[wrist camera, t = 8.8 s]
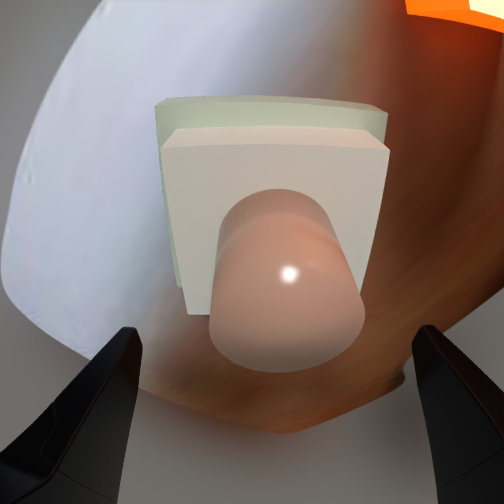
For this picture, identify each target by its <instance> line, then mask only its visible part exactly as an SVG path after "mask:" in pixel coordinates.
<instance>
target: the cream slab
mask: <svg viewBox="0 0 504 504" xmlns="http://www.w3.org/2000/svg"><path fill="white" fill-rule="evenodd" d="M160 150H161V158H162V166H163V174H164V181H165V188H166V195H167V202H168V208H169V215H170V221H171V227H172V233H173V239H174V245H175V250H176V256H177V261H178V267H179V272H180V277H181V282H182V287H183V292H184V297H185V302H186V307H187V312H188V314H194V315H210V308H211V298H212V288H213V279H214V270H215V261H216V252H217V243H218V235H219V229H220V226H221V223H222V221H223V219H224V217H225V216H226V214H227V213H228V211H229V210H230V209H231V208H232V207H233V206H234V205H235V204H237V203H238V202H239V201H240V200H242V199H244V198H245V197H247V196H249V195H251V194H254V193H257V192H260V191H264V190H269V189H287V190H293V191H297V192H300V193H302V194H305V195H307V196H309V197H310V198H312V199H313V200H315V201H316V202H317V203H318V204H320V206H321V207H322V208H323V209H324V210H325V212H326V213H327V215H328V217H329V219H330V222H331V224H332V226H333V229H334V231H335V233H336V236H337V238H338V241H339V243H340V245H341V248H342V250H343V253H344V255H345V258H346V260H347V263H348V265H349V268H350V270H351V273H352V275H353V278H354V280H355V283H356V286H357V288H358V291H359V294H360V290H361V287H362V283H363V279H364V275H365V272H366V268H367V264H368V260H369V256H370V251H371V247H372V243H373V239H374V234H375V230H376V225H377V220H378V216H379V211H380V206H381V201H382V196H383V190H384V185H385V179H386V173H387V167H388V161H389V155H390V150H389V149H388V148H387V147H386V146H385V145H384V144H382V143H381V142H380V141H379V140H378V139H376V138H375V137H374V136H373V135H371V134H370V133H369V132H368V131H364V130H353V129H339V128H323V127H299V126H228V127H204V128H187V129H176V131H175V132H174V133H173V134H172V135H171V136H170V137H169V139H168V140H167V141H166V142H165V143H164V144H163V146H162V147H161V148H160Z"/></svg>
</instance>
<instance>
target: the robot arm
mask: <svg viewBox="0 0 504 504" xmlns="http://www.w3.org/2000/svg"><path fill="white" fill-rule="evenodd" d="M142 351H143V347H142V342H141V340H140V337H139V334H138V332H137V329H136V328H134V327H123V328H121V329H120V330H119V331H118V332H117V333H116V334H115V335H114V336H113V338H112V339H111V340H110V341H109V342H108V343H107V344H106V345H105V346H104V347H103V348H102V349H101V350H100V351H99V352H98V353H97V354H96V355H95V356H94V358H93V359H92V360H91V361H90V362H89V363H88V364H87V365H86V366H85V367H84V368H83V369H82V370H81V372H80V373H79V374H78V375H77V376H76V377H75V378H74V379H73V380H72V381H71V382H70V383H69V384H68V386H67V387H66V388H65V389H64V390H63V391H62V392H61V393H60V394H59V395H58V397H57V398H56V399H55V400H54V402H52V403H51V404H50V405H49V406H48V408H47V409H46V410H45V411H44V412H43V413H42V414H41V415H40V416H39V417H38V418H37V419H36V420H35V421H34V422H33V423H32V424H31V425H30V426H29V427H28V428H27V429H26V430H25V431H24V432H23V433H21V435H19V436H18V437H17V438H16V439H15V440H14V441H13V442H12V443H11V444H9V445H8V446H7V447H6V448H5V449H4V450H3V451H1V452H0V504H117V500H118V494H119V487H120V481H121V474H122V469H123V463H124V458H125V452H126V447H127V442H128V437H129V431H130V427H131V422H132V417H133V412H134V408H135V403H136V398H137V393H138V385H139V376H140V367H141V359H142ZM412 353H413V359H414V366H415V372H416V379H417V386H418V391H419V395H420V399H421V403H422V408H423V413H424V417H425V422H426V427H427V432H428V437H429V443H430V449H431V454H432V461H433V467H434V473H435V481H436V488H437V498H438V504H504V392H503V391H502V390H501V389H499V387H498V386H497V385H496V384H495V383H494V382H493V381H492V380H491V379H490V378H489V377H488V376H487V375H486V374H484V372H483V371H482V370H481V369H480V368H478V367H477V365H475V364H474V363H473V362H472V361H471V360H470V359H469V358H468V357H467V356H466V355H465V354H464V353H463V352H462V351H461V350H460V349H458V348H457V347H456V346H455V345H454V344H453V343H452V342H451V341H450V340H449V339H448V338H447V337H446V336H444V335H443V334H442V333H441V332H440V331H439V330H438V329H437V328H436V327H435V326H433V325H422V326H421V327H420V328H419V330H418V331H417V333H416V335H415V337H414V339H413V341H412Z"/></svg>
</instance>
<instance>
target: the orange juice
mask: <svg viewBox="0 0 504 504" xmlns="http://www.w3.org/2000/svg"><path fill="white" fill-rule="evenodd" d="M405 1H406V8H407V14H412V15H420V16H428V17H434V18H441V19H446V20H452V21H457V22H462V23H467V24H471V25H476V26H480V27H484V28H488V29H492V30H495V31H499V32H502V33H504V0H405Z"/></svg>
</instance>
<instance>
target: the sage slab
mask: <svg viewBox="0 0 504 504" xmlns="http://www.w3.org/2000/svg"><path fill="white" fill-rule="evenodd" d="M155 116H156V129H157V140H158V150H159V160H160V170H161V178H162V187H163V195H164V203H165V210H166V218H167V225H168V232H169V238H170V245H171V251H172V257H173V263H174V269H175V275H176V281H177V287H182V282H181V277H180V272H179V267H178V261H177V256H176V250H175V245H174V239H173V233H172V227H171V221H170V215H169V208H168V202H167V195H166V188H165V181H164V174H163V166H162V158H161V150H160V148H161V147H162V146H163V144H164V143H165V142H166V141H167V140H168V139H169V137H170V136H171V135H172V134H173V133H174V132H175V131H176V129H187V128H204V127H228V126H299V127H323V128H339V129H353V130H364V131H368V132H369V133H370V134H371V135H373V136H374V137H375V138H376V139H378V140H379V141H380V142H381V143H382V144H384V139H385V132H386V125H387V118H388V113H386V112H384V111H382V110H381V109H379V108H377V107H375V106H373V105H369V104H362V103H354V102H346V101H337V100H327V99H315V98H302V97H285V96H252V95H228V96H195V97H178V98H167V99H165V100H163V101H162V102H160V103H159V104H157V105H155Z"/></svg>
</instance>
